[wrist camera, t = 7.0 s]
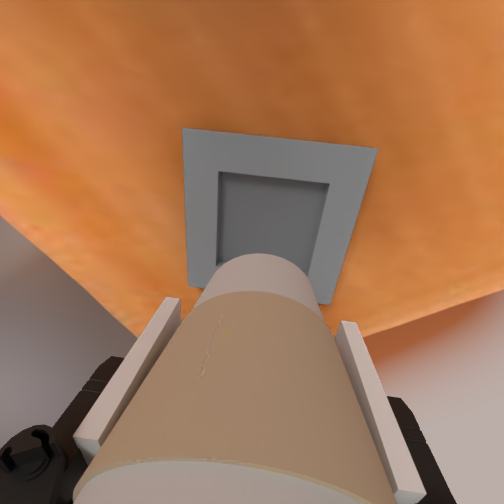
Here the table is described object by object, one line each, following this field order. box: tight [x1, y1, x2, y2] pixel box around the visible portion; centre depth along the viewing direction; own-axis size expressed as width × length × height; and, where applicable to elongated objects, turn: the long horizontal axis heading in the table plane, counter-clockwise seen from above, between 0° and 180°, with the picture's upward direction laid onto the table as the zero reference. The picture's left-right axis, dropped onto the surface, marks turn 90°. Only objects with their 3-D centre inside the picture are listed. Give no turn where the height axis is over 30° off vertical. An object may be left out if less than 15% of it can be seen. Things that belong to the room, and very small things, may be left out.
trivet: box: [182, 128, 378, 305], centre depth 27 cm, size 18×18×2 cm
